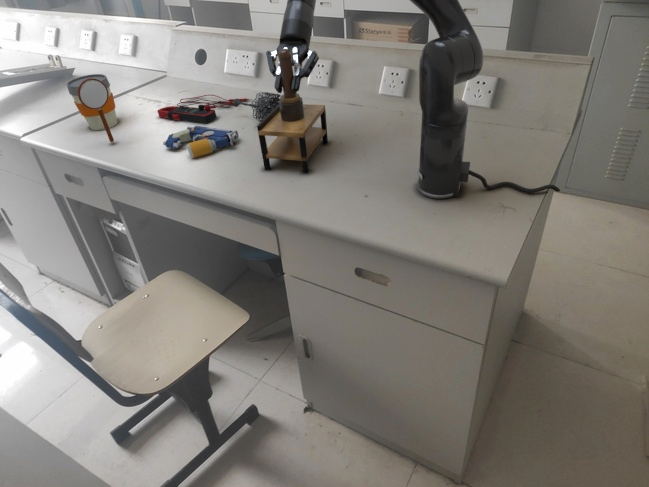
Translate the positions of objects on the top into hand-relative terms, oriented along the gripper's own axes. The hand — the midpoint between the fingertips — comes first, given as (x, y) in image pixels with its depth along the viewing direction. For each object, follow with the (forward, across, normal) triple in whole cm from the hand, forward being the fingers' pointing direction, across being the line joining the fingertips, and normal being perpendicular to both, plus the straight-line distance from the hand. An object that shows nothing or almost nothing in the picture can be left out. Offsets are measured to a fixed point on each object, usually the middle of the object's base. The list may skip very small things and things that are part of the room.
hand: (286, 91), depth 112 cm
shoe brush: (+4, 0, +7) cm, 8 cm away
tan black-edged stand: (+12, 0, +14) cm, 19 cm away
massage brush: (-3, -19, +29) cm, 35 cm away
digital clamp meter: (-8, -45, +34) cm, 57 cm away
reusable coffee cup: (+3, -75, +23) cm, 79 cm away
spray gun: (+11, -31, +15) cm, 36 cm away
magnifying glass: (+13, -61, +14) cm, 64 cm away
